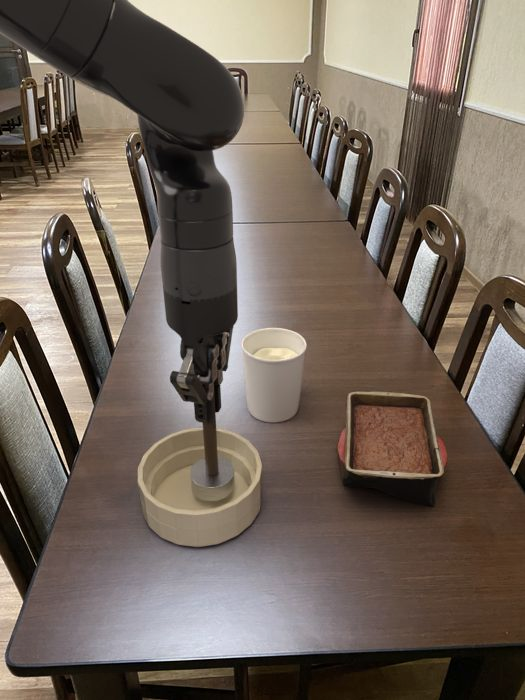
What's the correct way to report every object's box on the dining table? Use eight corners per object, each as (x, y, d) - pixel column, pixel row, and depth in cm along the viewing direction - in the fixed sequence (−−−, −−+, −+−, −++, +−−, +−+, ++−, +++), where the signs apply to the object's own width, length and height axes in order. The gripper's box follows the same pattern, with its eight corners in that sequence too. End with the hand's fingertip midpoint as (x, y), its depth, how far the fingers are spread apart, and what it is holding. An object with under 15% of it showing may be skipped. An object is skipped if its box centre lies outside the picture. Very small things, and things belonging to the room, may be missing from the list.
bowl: (167, 569, 61) (163, 534, 58) (128, 483, 72) (122, 450, 69) (283, 519, 67) (284, 484, 64) (229, 447, 79) (228, 414, 75)
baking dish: (325, 510, 71) (335, 463, 64) (342, 413, 84) (351, 366, 78) (436, 536, 69) (458, 490, 62) (435, 432, 82) (453, 386, 76)
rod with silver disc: (201, 507, 66) (193, 400, 58) (184, 478, 70) (174, 374, 62) (242, 491, 68) (239, 385, 60) (223, 464, 73) (218, 362, 64)
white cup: (237, 422, 83) (235, 357, 77) (248, 386, 92) (247, 325, 85) (300, 429, 82) (303, 363, 76) (305, 392, 90) (309, 330, 84)
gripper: (191, 252, 61) (200, 379, 70) (134, 304, 50) (153, 447, 59) (254, 259, 59) (255, 388, 68) (210, 315, 48) (218, 460, 57)
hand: (208, 415), depth 63 cm, fingers closed on rod with silver disc
